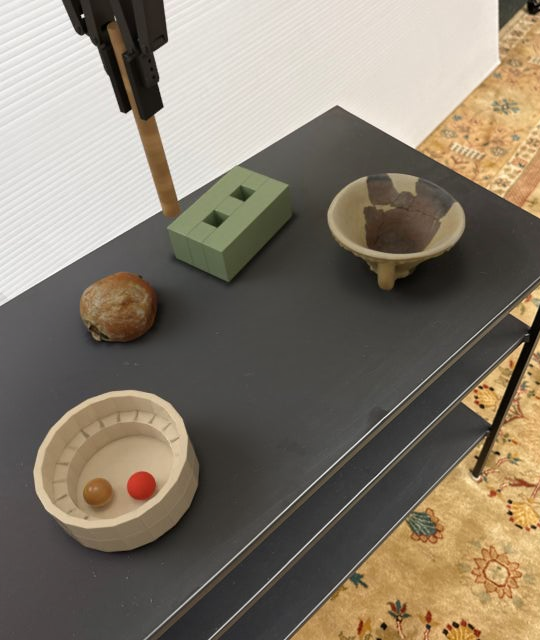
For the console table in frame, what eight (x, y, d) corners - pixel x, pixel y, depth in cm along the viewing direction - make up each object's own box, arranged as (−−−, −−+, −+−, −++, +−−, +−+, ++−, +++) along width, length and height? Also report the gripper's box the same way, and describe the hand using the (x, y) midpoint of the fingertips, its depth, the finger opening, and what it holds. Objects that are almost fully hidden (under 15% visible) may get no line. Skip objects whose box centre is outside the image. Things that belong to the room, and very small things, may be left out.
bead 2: (125, 496, 70) (117, 483, 68) (144, 474, 71) (136, 461, 69) (145, 509, 69) (138, 497, 66) (164, 487, 70) (157, 474, 68)
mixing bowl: (28, 506, 70) (1, 477, 65) (127, 402, 79) (110, 368, 73) (133, 583, 65) (113, 558, 59) (228, 461, 73) (217, 430, 67)
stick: (160, 214, 75) (101, 27, 58) (171, 204, 76) (117, 17, 59) (173, 220, 74) (118, 32, 57) (184, 209, 75) (133, 22, 58)
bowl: (448, 319, 85) (457, 268, 77) (316, 296, 88) (312, 245, 81) (465, 229, 95) (474, 177, 88) (346, 212, 99) (345, 161, 92)
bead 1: (82, 502, 70) (73, 490, 67) (102, 480, 71) (93, 468, 69) (102, 516, 69) (93, 504, 66) (122, 493, 70) (113, 481, 68)
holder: (175, 258, 94) (166, 227, 90) (241, 195, 103) (236, 164, 98) (228, 282, 91) (221, 251, 86) (292, 215, 99) (289, 184, 94)
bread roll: (87, 341, 90) (55, 327, 82) (111, 272, 92) (82, 252, 84) (151, 356, 87) (124, 343, 80) (174, 285, 90) (150, 266, 82)
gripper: (171, -185, 46) (224, 110, 64) (25, -203, 51) (112, 74, 69) (97, -155, 42) (176, 150, 60) (-53, -178, 47) (61, 109, 65)
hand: (142, 109), depth 64 cm, fingers closed on stick, 2 cm apart
